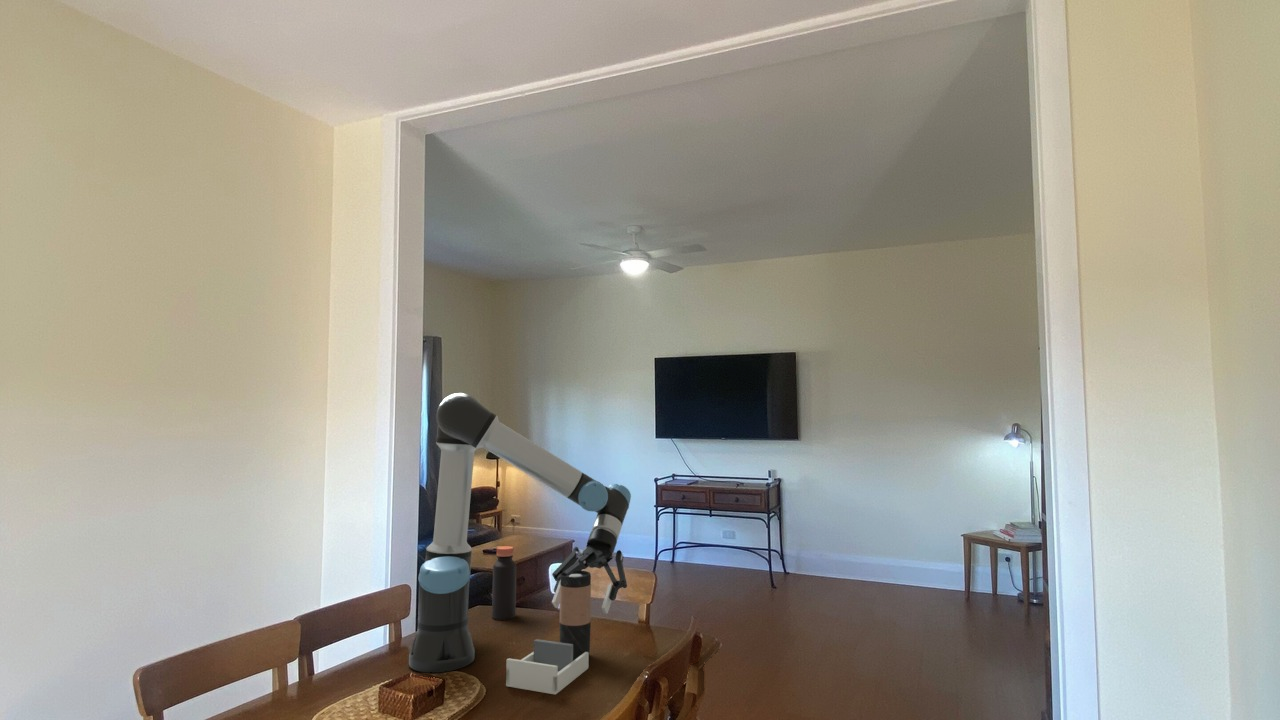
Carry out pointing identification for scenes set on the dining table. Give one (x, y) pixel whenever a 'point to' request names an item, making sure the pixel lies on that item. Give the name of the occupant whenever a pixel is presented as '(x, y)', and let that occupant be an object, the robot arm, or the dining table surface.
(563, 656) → the block
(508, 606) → the bottle
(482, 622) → the dining table surface
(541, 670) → the white open box
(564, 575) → the travel mug
